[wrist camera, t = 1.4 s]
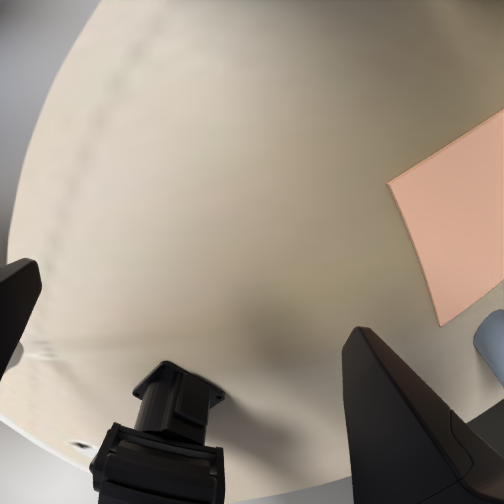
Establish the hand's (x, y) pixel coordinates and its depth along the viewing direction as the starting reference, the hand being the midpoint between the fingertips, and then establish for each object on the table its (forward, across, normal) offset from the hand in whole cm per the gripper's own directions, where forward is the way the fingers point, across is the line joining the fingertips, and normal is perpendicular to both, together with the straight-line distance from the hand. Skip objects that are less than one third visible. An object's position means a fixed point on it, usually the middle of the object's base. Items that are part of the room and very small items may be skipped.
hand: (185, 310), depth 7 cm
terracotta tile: (+12, -20, -3) cm, 23 cm away
